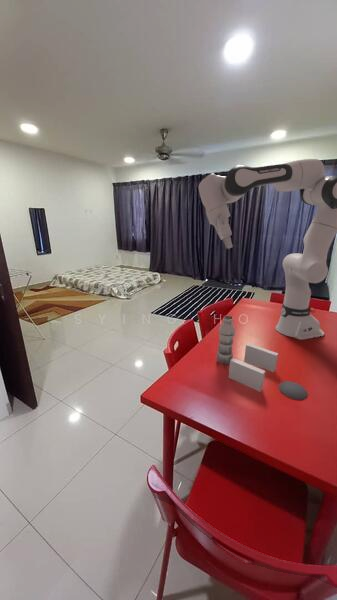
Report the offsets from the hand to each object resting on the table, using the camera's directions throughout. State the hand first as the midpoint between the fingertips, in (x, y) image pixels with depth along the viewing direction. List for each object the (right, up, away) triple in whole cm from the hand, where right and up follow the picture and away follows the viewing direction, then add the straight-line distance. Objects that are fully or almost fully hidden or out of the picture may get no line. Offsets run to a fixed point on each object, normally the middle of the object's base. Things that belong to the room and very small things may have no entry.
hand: (229, 248), depth 102 cm
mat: (+17, -53, -18) cm, 59 cm away
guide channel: (+6, -50, -9) cm, 51 cm away
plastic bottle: (-3, -47, -2) cm, 48 cm away
